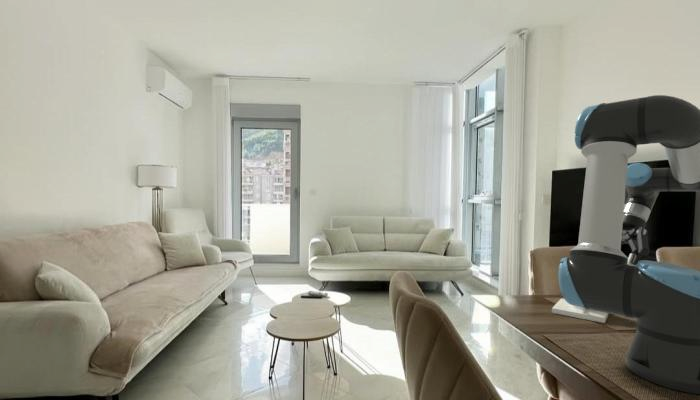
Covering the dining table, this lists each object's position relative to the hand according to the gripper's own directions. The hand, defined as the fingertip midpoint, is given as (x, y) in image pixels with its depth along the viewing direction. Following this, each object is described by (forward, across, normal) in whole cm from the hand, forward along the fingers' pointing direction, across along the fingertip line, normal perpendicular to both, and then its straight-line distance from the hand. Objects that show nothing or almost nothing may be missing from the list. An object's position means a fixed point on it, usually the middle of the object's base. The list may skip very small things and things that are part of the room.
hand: (610, 273), depth 116 cm
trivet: (+16, +1, +3) cm, 17 cm away
